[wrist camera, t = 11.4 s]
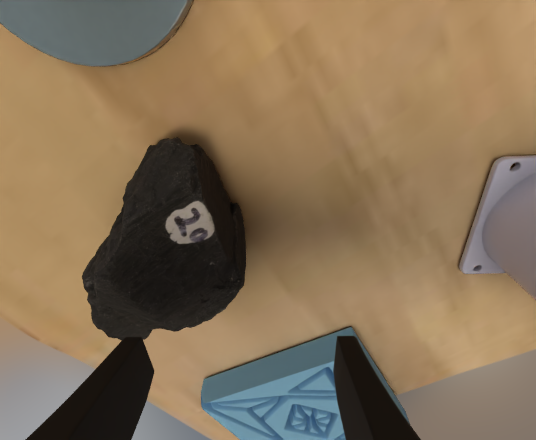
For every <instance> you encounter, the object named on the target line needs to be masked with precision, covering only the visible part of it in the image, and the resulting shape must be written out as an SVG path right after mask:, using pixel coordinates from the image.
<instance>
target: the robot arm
mask: <svg viewBox="0 0 536 440" xmlns="http://www.w3.org/2000/svg"><path fill="white" fill-rule="evenodd" d="M514 163H515V166H514V167H513V168H511V169H510V167H511V165H512V164H514ZM475 266H476V267H475ZM459 269H460V270H461V271H462V272H463V273H464V274H484V273H507V274H508V275H509V276H510V277H512V278H513V279H514V280H515V281H516V282H517V283H518V284H519V285H520V286H521V287H522V288H523V289H524V290H525V291H526V292H527V293H528V294H529V295H531V296H532V297H533V298H534V299H535V300H536V155H529V156H506V157H501V158H499V159H497V160H496V161H495V162H494V163H493V165H492V168H491V171H490V174H489V177H488V180H487V183H486V186H485V189H484V192H483V195H482V198H481V201H480V204H479V207H478V210H477V213H476V216H475V219H474V222H473V225H472V228H471V231H470V234H469V237H468V240H467V243H466V246H465V249H464V252H463V255H462V258H461V261H460V264H459ZM333 374H334V381H335V389H336V396H337V403H338V407H339V412H340V416H341V421H342V425H343V429H344V434H345V438H346V440H421V439H420V438H419V437H418V435H417V434H416V433H415V431H414V430H413V428H412V427H411V426H410V424H409V423H408V421H407V420H406V418H405V417H404V416H403V414H402V413H401V411H400V410H399V408H398V407H397V405H396V404H395V402H394V401H393V399H392V398H391V396H390V395H389V393H388V392H387V390H386V388H385V387H384V385H383V384H382V382H381V381H380V379H379V377H378V376H377V374H376V372H375V371H374V369H373V367H372V366H371V364H370V362H369V360H368V359H367V357H366V355H365V353H364V351H363V349H362V347H361V345H360V344H359V342H358V339H357V338H356V337H355V336H337V341H336V350H335V359H334V368H333ZM153 375H154V369H153V366H152V363H151V361H150V358H149V355H148V353H147V350H146V347H145V345H144V342H143V339H142V337H125V338H124V339H123V340H122V341H121V342H120V343H119V345H118V346H117V347H116V348H115V349H114V350H113V351H112V352H111V353H110V354H109V355H108V356H107V358H106V359H105V360H104V361H103V362H102V363H101V364H100V365H99V366H98V367H97V368H96V369H95V371H94V372H93V373H92V374H91V375H90V376H89V377H88V378H87V379H86V380H85V381H84V382H83V383H82V384H81V385H80V386H79V388H78V389H77V390H76V391H75V392H74V393H73V394H72V395H71V396H70V397H69V398H68V399H67V400H66V401H65V402H64V403H63V404H62V405H61V406H60V407H59V408H58V409H57V410H56V411H55V412H54V413H53V414H52V415H51V416H50V417H49V418H48V419H47V420H46V421H45V422H44V423H43V424H42V425H41V426H40V427H38V428H37V429H36V430H35V431H34V432H33V433H32V434H31V435H30V436H29V437H28V438H27V439H26V440H131V439H132V436H133V434H134V431H135V429H136V426H137V424H138V421H139V419H140V416H141V413H142V411H143V408H144V406H145V403H146V400H147V397H148V393H149V390H150V386H151V382H152V378H153Z"/></svg>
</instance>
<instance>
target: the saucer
mask: <svg viewBox="0 0 536 440" xmlns="http://www.w3.org/2000/svg"><path fill="white" fill-rule="evenodd" d="M192 2H193V0H0V23H1V24H2V25H3V26H4V27H5V28H7V29H8V30H9V31H10V32H12V33H13V34H14V35H16V36H17V37H19V38H20V39H21V40H23V41H24V42H26V43H27V44H29V45H31V46H33V47H34V48H36V49H38V50H40V51H41V52H43V53H46V54H48V55H50V56H53V57H55V58H57V59H60V60H63V61H67V62H70V63H73V64H79V65H85V66H116V65H123V64H128V63H131V62H134V61H137V60H140V59H142V58H144V57H146V56H148V55H150V54H152V53H153V52H154V51H156V50H157V49H158V48H160V47H161V46H163V45H164V44H165V43H166V42H167V41H168V40H169V39H170V38H171V37H172V35H173V34H174V33H175V32H176V30H177V29H178V28H179V26H180V25H181V23H182V22H183V20H184V18H185V16H186V14H187V13H188V11H189V9H190V7H191V4H192Z"/></svg>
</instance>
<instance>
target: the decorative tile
mask: <svg viewBox="0 0 536 440" xmlns="http://www.w3.org/2000/svg"><path fill="white" fill-rule="evenodd" d="M337 336H355V337H356V338H357V339H358V342H359V344H360V345H361V347H362V349H363V351H364V353H365V355H366V357H367V359H368V360H369V362H370V364H371V366H372V367H373V369H374V371H375V372H376V374H377V376H378V377H379V379H380V381H381V382H382V384H383V385H384V387H385V388H386V390H387V392H388V393H389V395H390V396H391V398H392V399H393V401H394V402H395V404H396V405H397V407H398V408H399V410H400V411H401V413H402V414H403V416H404V417H405V418H406V420H407V421H408V418H407V415H406V412H405V410H404V409H403V407H402V406H401V404H400V402H399V401H398V399H397V398H396V396H395V395H394V393H393V391H392V390H391V388H390V387H389V385H388V384H387V382H386V380H385V379H384V377H383V376H382V374H381V373H380V371H379V369H378V368H377V366H376V365H375V363H374V362H373V360H372V358H371V357H370V355H369V354H368V352H367V351H366V349H365V347H364V346H363V344H362V343H361V341H360V340H359V338H358V337H357V335H356V333H355V332H354V330H353V329H352V327H349V328H347V329H344V330H341V331H338V332H335V333H332V334H330V335H327V336H324V337H321V338H318V339H316V340H313V341H310V342H307V343H304V344H302V345H299V346H296V347H293V348H290V349H287V350H285V351H282V352H279V353H276V354H273V355H271V356H268V357H265V358H262V359H259V360H256V361H254V362H251V363H248V364H245V365H242V366H240V367H237V368H234V369H231V370H228V371H225V372H223V373H220V374H217V375H214V376H211V377H209V378H206V379H204V381H203V386H202V390H201V405H202V408H203V410H204V411H205V412H207V413H208V414H209V415H210V416H212V417H213V418H214V419H215V420H217V421H218V422H219V423H220V424H221V425H223V426H224V427H225V428H226V429H228V430H229V431H230V432H231V433H233V434H234V435H235V436H236V437H238V438H239V439H240V440H346V438H345V434H344V429H343V425H342V421H341V416H340V412H339V407H338V403H337V396H336V389H335V381H334V374H333V368H334V359H335V350H336V341H337ZM408 423H409V421H408ZM409 424H410V423H409Z"/></svg>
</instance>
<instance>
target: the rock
mask: <svg viewBox="0 0 536 440" xmlns="http://www.w3.org/2000/svg"><path fill="white" fill-rule="evenodd" d="M123 201H124V205H123V207H122V210H121V213H120V214H119V215H118V216H117V218H116V221H115V223H114V224H113V226H112V229H111V232H110V235H109V236H108V237H107V238H106V239H105V241H104V242H103V243H102V244H101V246H100V247H99V249H98V250H97V252H96V255H95V256H94V257H93V258H92V259H91V260H90V262H89V264H88V265H87V267H86V269H85V270H84V272H83V275H82V279H83V284H84V288H85V290H86V291H87V292H88V298H87V300H88V302H89V304H90V305H91V309H92V312H91V316H92V321H93V323H94V324H95V326H96V327H97V328H98V329H101V330H103V331H104V332H105V333H106V335H107V336H108V337H111V338H118V339H120V340H123V339H124V338H125V337H142V339H146V338H147V337H148V336H149V335H150V333H151V331H152V329H157V328H161V329H166V330H171V331H179V330H181V329H183V328H186V327H189V328H191V327H195V326H197V325H199V324H201V323H202V322H204V321H208V320H210V319H212V318H213V317H214V316H215V315H216V314H218V313H220V312H222V311H223V310H224V309H226V307H227V306H228V304H229V303H230V302H231V301H232V300H233V299H234V298H235V297H236V295H237V293H238V292H239V290H240V289H241V288H242V287H243V286H244V281H245V269H246V241H245V227H244V223H243V222H244V220H243V216H242V213H241V208H240V206H239V205H238V204H237V203H232V202H231V201H230V198H229V197H228V195H227V192H226V191H225V189H224V188H223V185H222V182H221V180H220V177H219V174H218V173H217V171H216V169H215V166H214V164H213V162H212V160H211V159H210V158H209V157H208V156H207V154H206V153H205V151H204V150H203V149H202V148H201V147H200V146H199V145H198V144H194V145H187V144H184V143H182V142H181V140H180V139H179V138H178V137H176V138H173V139H169V138H167V139H162V140H160V141H159V143H158V144H157V145H150V146H149V147H148V149H147V152H146V154H145V156H144V158H143V160H142V162H141V164H140V165H139V167H138V169H137V170H136V172H135V174H134V176H133V178H132V179H131V180H130V181H129V182H128V183H127V186H126V189H125V194H124V197H123Z"/></svg>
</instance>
